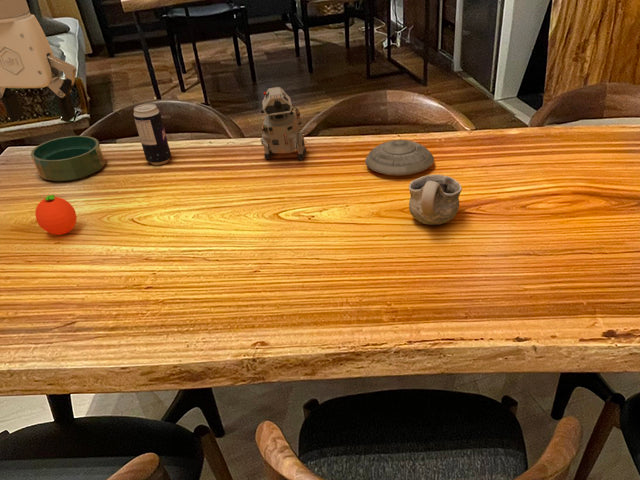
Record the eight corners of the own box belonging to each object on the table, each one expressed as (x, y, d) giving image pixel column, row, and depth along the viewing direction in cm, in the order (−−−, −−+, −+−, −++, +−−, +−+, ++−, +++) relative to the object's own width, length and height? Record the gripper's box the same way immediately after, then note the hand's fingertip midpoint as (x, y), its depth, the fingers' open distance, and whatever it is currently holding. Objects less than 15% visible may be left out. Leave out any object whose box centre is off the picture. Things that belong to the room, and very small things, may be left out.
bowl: (37, 187, 134) (28, 165, 131) (42, 162, 144) (33, 141, 141) (106, 176, 137) (98, 154, 134) (105, 153, 147) (98, 132, 144)
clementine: (45, 225, 121) (30, 190, 117) (82, 218, 123) (69, 184, 118) (42, 244, 116) (26, 209, 111) (81, 237, 117) (67, 202, 112)
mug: (458, 208, 121) (462, 158, 114) (461, 241, 112) (464, 188, 105) (409, 208, 122) (409, 158, 115) (407, 241, 112) (407, 188, 106)
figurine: (259, 171, 137) (247, 100, 127) (270, 150, 145) (260, 82, 135) (299, 171, 136) (291, 100, 126) (308, 150, 145) (301, 82, 135)
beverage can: (173, 163, 142) (160, 109, 134) (148, 168, 140) (132, 113, 132) (170, 154, 146) (156, 101, 138) (145, 158, 144) (130, 105, 136)
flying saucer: (378, 149, 144) (377, 125, 140) (441, 156, 140) (442, 131, 136) (355, 176, 133) (354, 151, 130) (422, 184, 129) (423, 158, 126)
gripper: (-65, 14, 95) (-14, 126, 107) (41, 12, 94) (81, 127, 105) (-36, 3, 101) (9, 111, 112) (65, 1, 99) (100, 111, 111)
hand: (44, 118), depth 109 cm, fingers open, 9 cm apart
